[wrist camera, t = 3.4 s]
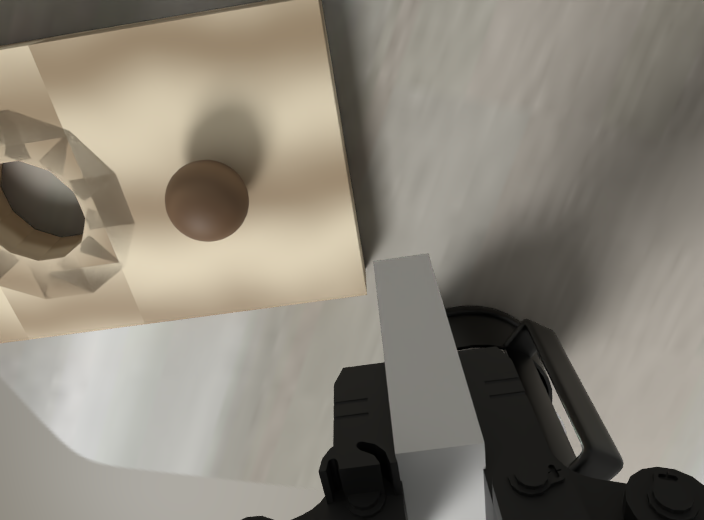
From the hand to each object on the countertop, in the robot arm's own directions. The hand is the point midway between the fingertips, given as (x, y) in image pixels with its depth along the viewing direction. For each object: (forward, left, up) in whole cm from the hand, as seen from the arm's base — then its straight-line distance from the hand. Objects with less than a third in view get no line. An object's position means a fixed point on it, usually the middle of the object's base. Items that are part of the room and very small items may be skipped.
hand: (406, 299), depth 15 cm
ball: (0, -8, -9) cm, 12 cm away
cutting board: (0, -12, -13) cm, 18 cm away
